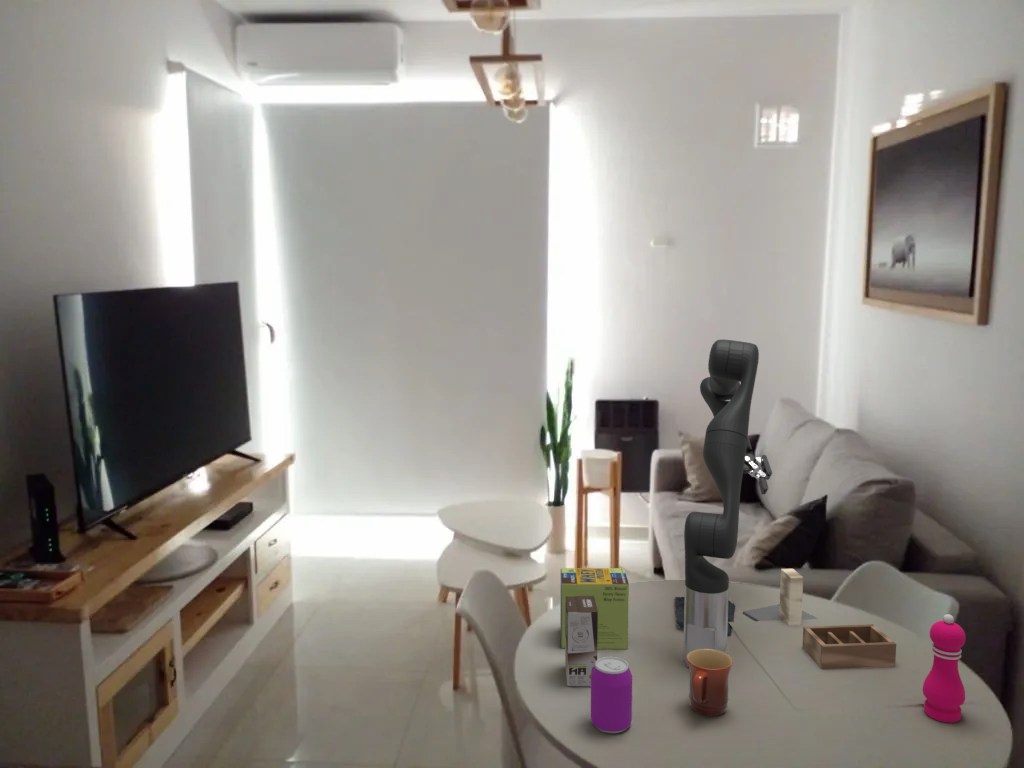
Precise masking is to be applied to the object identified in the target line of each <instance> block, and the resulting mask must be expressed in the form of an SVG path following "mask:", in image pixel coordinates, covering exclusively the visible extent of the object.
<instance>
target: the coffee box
mask: <svg viewBox="0 0 1024 768" xmlns="http://www.w3.org/2000/svg"><path fill="white" fill-rule="evenodd" d="M597 637H598V610H597V606H596V602H595V598H594V596H566V597H565V648H564V649H565V651H564V652H565V654H564V656H565V658H564V659H565V660H564V661H565V662H564V663H565V676H566V685H567V687H591V673H592V670H593V668H594V665H595V662H596V661H597V660H598V649H597Z"/></svg>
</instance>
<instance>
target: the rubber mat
mask: <svg viewBox="0 0 1024 768" xmlns="http://www.w3.org/2000/svg"><path fill="white" fill-rule="evenodd" d="M779 608H780V603H779V604H775V605H774V604H773V605H769V606H764V607H759V608H758V607H757V608H752V609H748V610H743V611H742V614H743V615H745V616H746V617H748V618H749V619H751V620H753V621H755V622H765V621H766V622H767V621H768V622H770V621H771V622H772V621H784V620H783V619H782V618H781V617H780V616H779ZM802 620H803V621H804V620H819V618H817V617H815V616H813V615H812V614H810V613H808V612H806V611H805V610H802V619H801V621H802Z"/></svg>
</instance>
